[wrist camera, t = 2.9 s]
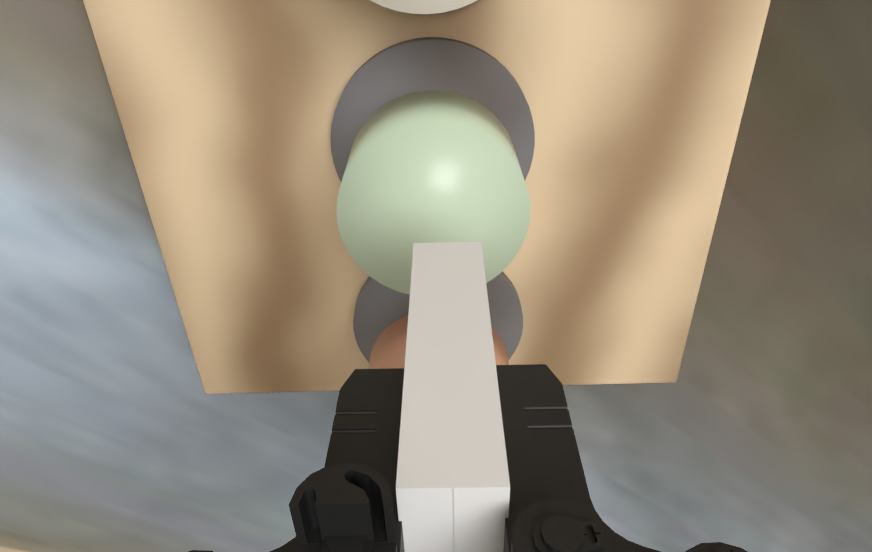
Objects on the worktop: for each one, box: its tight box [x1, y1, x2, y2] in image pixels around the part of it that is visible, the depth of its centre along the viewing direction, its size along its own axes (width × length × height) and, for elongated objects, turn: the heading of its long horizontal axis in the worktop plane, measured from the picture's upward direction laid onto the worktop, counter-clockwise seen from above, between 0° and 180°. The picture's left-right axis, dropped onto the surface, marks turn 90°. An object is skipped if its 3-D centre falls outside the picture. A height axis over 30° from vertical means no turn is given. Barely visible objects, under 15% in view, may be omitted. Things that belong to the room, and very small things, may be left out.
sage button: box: [336, 90, 530, 295], centre depth 18 cm, size 5×5×3 cm
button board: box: [83, 0, 771, 394], centre depth 23 cm, size 22×24×3 cm
